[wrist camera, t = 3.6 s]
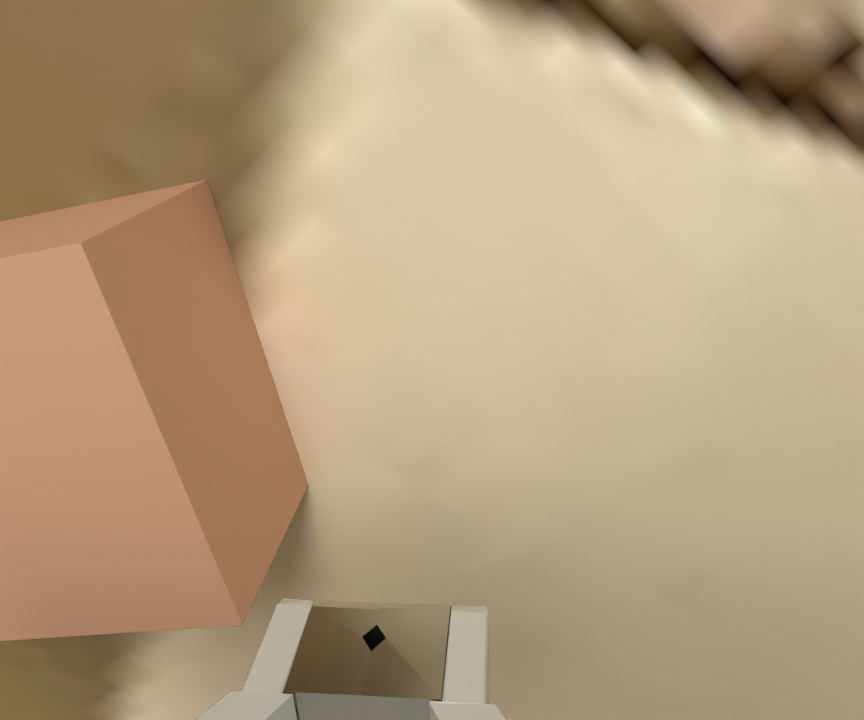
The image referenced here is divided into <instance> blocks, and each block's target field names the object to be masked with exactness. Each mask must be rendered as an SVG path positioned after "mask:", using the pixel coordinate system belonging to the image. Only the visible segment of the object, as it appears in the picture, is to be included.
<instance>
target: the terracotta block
mask: <svg viewBox="0 0 864 720" xmlns="http://www.w3.org/2000/svg"><path fill="white" fill-rule="evenodd" d="M307 487H308V483H307V480H306V477H305V474H304V471H303V468H302V465H301V462H300V459H299V456H298V453H297V450H296V447H295V444H294V441H293V438H292V435H291V432H290V429H289V426H288V423H287V420H286V417H285V414H284V411H283V408H282V405H281V402H280V399H279V396H278V393H277V390H276V387H275V384H274V381H273V378H272V375H271V372H270V369H269V366H268V363H267V360H266V357H265V354H264V351H263V348H262V345H261V342H260V339H259V336H258V333H257V330H256V327H255V324H254V321H253V318H252V315H251V312H250V309H249V306H248V303H247V300H246V297H245V294H244V291H243V288H242V285H241V282H240V279H239V276H238V273H237V270H236V267H235V264H234V261H233V258H232V255H231V252H230V249H229V246H228V243H227V240H226V237H225V234H224V231H223V228H222V225H221V222H220V219H219V216H218V213H217V210H216V207H215V204H214V201H213V198H212V195H211V192H210V189H209V186H208V183H207V180H203V181H199V182H194V183H189V184H184V185H179V186H174V187H169V188H164V189H159V190H154V191H149V192H144V193H139V194H134V195H129V196H124V197H120V198H115V199H110V200H105V201H100V202H95V203H90V204H85V205H80V206H75V207H70V208H65V209H60V210H55V211H50V212H45V213H41V214H36V215H31V216H26V217H21V218H16V219H11V220H6V221H1V222H0V641H7V640H22V639H37V638H53V637H68V636H83V635H99V634H114V633H130V632H145V631H160V630H176V629H191V628H206V627H222V626H237V625H243V623H244V621H245V619H246V617H247V615H248V612H249V610H250V608H251V606H252V604H253V602H254V600H255V598H256V595H257V593H258V591H259V589H260V587H261V585H262V583H263V580H264V578H265V576H266V574H267V572H268V570H269V568H270V566H271V563H272V561H273V559H274V557H275V555H276V553H277V551H278V549H279V546H280V544H281V542H282V540H283V538H284V536H285V534H286V531H287V529H288V527H289V525H290V523H291V521H292V519H293V517H294V514H295V512H296V510H297V508H298V506H299V504H300V502H301V500H302V497H303V495H304V493H305V491H306V489H307Z"/></svg>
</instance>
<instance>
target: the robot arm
mask: <svg viewBox="0 0 864 720" xmlns="http://www.w3.org/2000/svg"><path fill="white" fill-rule="evenodd" d="M196 720H506V718H505V717H504V715H503V714H502V712H501V711H500V709H499V708H498V706H497V705H493V704H489V624H488V607H487V606H467V605H453V606H452V605H419V604H377V603H361V602H345V601H329V600H316V601H315V600H300V599H286V598H283V599H282V600H281V601H280V602H279V603H278V605H277V606H276V607H275V610H274V612H273V615H272V617H271V620H270V622H269V624H268V627H267V629H266V632H265V634H264V637H263V639H262V642H261V644H260V646H259V649H258V651H257V654H256V656H255V659H254V661H253V664H252V666H251V669H250V671H249V673H248V676H247V678H246V681H245V683H244V686H243V688H242V691H230V692H229V693H228V694H226V695H225V696H224V697H223V698H222V699H220V700H219V701H218V702H217V703H215V704H214V705H213V706H212V707H210V708H209V709H208V710H207V711H205V712H204V713H203V714H202V715H200V716H199V717H198V718H197V719H196Z"/></svg>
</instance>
